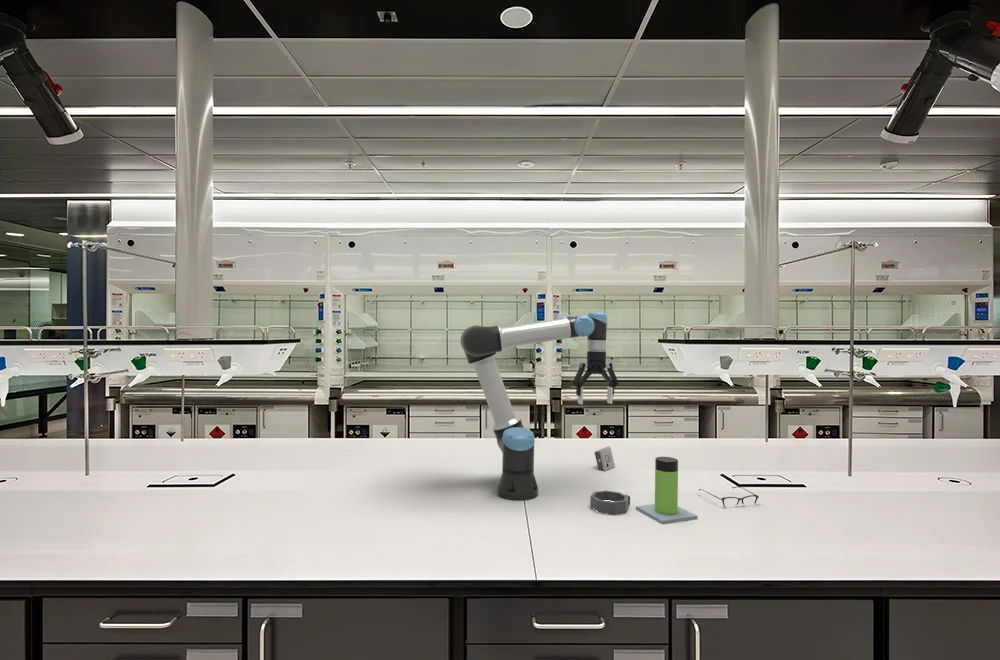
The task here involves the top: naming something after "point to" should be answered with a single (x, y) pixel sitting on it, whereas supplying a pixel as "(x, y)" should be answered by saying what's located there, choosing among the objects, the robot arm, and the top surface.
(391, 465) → the top surface
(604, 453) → the electrical switch
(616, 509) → the strap ring
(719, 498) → the eyeglasses
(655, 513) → the pad
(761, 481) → the top surface
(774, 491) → the top surface
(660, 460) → the green bottle
